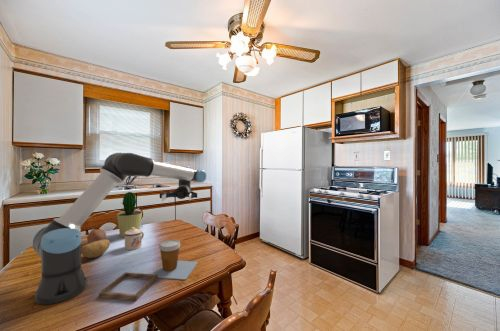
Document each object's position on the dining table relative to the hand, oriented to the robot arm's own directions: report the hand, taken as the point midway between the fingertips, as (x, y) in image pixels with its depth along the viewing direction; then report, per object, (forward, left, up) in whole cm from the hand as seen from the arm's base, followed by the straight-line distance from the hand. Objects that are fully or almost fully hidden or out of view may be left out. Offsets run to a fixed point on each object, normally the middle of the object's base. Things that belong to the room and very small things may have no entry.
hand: (176, 198), depth 113 cm
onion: (-56, +12, -32) cm, 66 cm away
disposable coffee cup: (+2, -11, -32) cm, 34 cm away
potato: (-43, -3, -32) cm, 54 cm away
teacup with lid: (-31, +12, -32) cm, 46 cm away
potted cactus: (-47, +30, -32) cm, 64 cm away
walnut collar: (-7, -27, -32) cm, 42 cm away
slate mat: (+5, -11, -32) cm, 34 cm away
